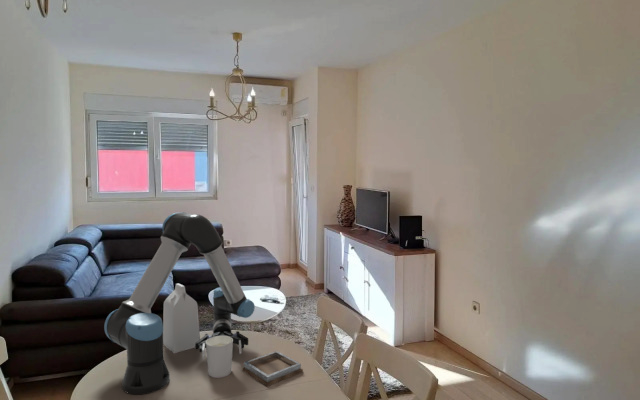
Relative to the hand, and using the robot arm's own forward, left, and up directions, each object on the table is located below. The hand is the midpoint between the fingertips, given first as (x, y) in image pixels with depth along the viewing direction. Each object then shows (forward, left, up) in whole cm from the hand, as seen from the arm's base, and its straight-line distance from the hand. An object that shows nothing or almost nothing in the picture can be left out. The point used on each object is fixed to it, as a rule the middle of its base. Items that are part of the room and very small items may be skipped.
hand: (221, 352), depth 158 cm
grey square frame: (+13, -14, -6) cm, 20 cm away
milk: (-2, +31, -7) cm, 32 cm away
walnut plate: (+13, -14, -6) cm, 20 cm away
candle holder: (-2, -2, -7) cm, 7 cm away
